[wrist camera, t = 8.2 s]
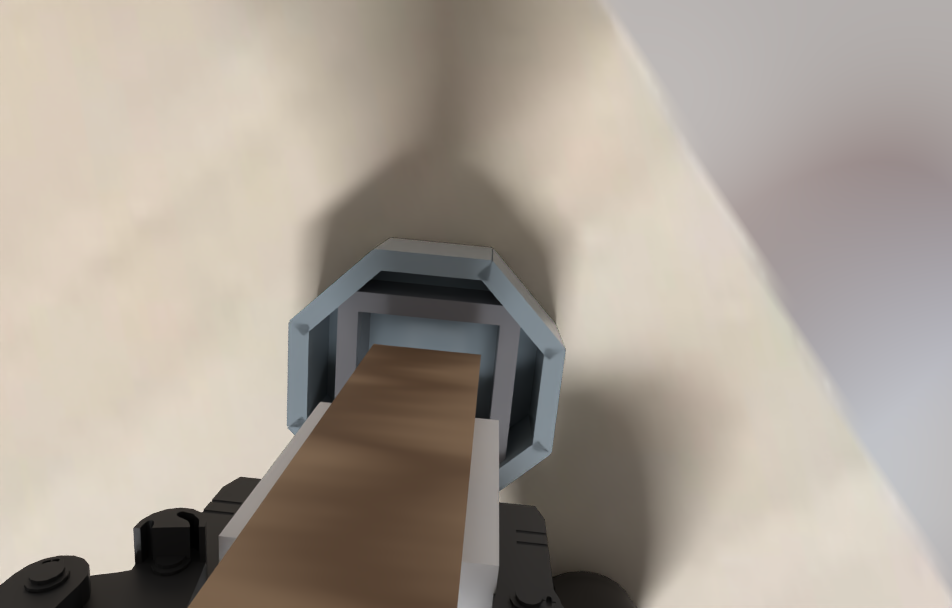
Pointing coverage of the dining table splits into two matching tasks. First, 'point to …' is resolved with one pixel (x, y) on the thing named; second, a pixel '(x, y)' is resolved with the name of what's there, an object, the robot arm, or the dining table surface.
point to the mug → (590, 591)
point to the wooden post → (366, 496)
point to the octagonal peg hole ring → (437, 337)
